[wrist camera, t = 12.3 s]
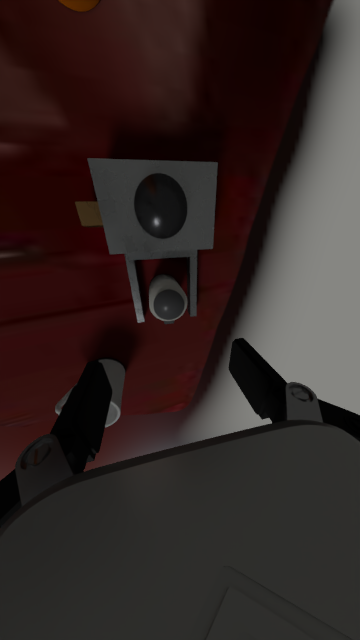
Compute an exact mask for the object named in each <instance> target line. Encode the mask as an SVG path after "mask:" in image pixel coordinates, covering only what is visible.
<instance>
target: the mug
mask: <svg viewBox="0 0 360 640" xmlns="http://www.w3.org/2000/svg"><path fill="white" fill-rule="evenodd" d="M96 361H99V363H100V362H101V363H102V364H103V367H104V369H105V372H106V374H107V377H108V380H109V382H110V385H111V387H112V398H111V402H110V406H109V411H108V415H107V420H106V424H105V427H107V426H110V425H111V424H113V423H114V422H116V421H117V420H118V418H119V416H120V412H121V398H122V391H123V384H124V378H125V368H124V366H123V365H122V364H121V363H120V362H119V361H117V360H115V359H111V358H102V359H98V360H96ZM76 385H77V384H76ZM72 389H73V388H72ZM72 389H71V390H70V391H69V392H68V393H67V394H66V395H65V396H64V397H63V398H62V399H61V400H60V401H59V402H58V403H57V405H56V407H55V412H56V413H57V414H60V412H61V410H62V409H61V407H62V406H63V405H64V404H65V402H66V400H67V399H68V397H69V395H70V393H71V391H72Z"/></svg>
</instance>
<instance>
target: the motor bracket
mask: <svg viewBox="0 0 360 640" xmlns="http://www.w3.org/2000/svg"><path fill="white" fill-rule="evenodd" d="M88 162H89V167H90V171H91V175H92V180H93V184H94V188H95V192H96V197H97V201H98V202H75V203H76V207H77V210H78V214H79V217H80V221H81V224H82V226H85V227H104V231H105V235H106V239H107V244H108V248H109V252H110V254H123V253H125V259H126V264H127V269H128V274H129V279H130V285H131V290H132V295H133V300H134V305H135V310H136V316H137V321H138V323H139V322H144V319H145V315H144V309H143V303H142V297H141V291H140V285H139V279H138V273H137V267H136V261H135V260H142V259H159V258H176V257H187V303H188V313H189V315H190V317H191V316H196V302H197V250H198V249H213V237H214V219H215V202H216V184H217V167H218V162H193V161H160V160H128V159H95V158H88Z"/></svg>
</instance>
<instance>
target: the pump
mask: <svg viewBox="0 0 360 640" xmlns="http://www.w3.org/2000/svg"><path fill="white" fill-rule="evenodd" d="M149 307H150V310H151V312H152V314H153V315H154V316H155V317H156V318H158V319H160V320H163V321H164V323H165V324H170V323H174V320H175V319H177V318H179V317H180V316H182V315H183V313H184V312H185V310H186V308H187V297H186V295H185V293H184V292H183V290H182V289H181V287H180V286H179V284H178V283H177V281H176V280H175V279H174V278H173V277H172V276H170V275H167V274H160V275H157V276H156V277H154V278H153V279H152V281H151V282H150V285H149Z"/></svg>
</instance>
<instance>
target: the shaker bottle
mask: <svg viewBox="0 0 360 640" xmlns="http://www.w3.org/2000/svg"><path fill="white" fill-rule="evenodd" d="M58 1H60V2H61V3H62V4H63V5H65V6H66V7H68V8H70V9H72V10H75V11H79V12H84V11H89V10H90V9H92V8H94V7H95V6H96V5H97V4H98V3H99V1H100V0H58Z"/></svg>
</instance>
